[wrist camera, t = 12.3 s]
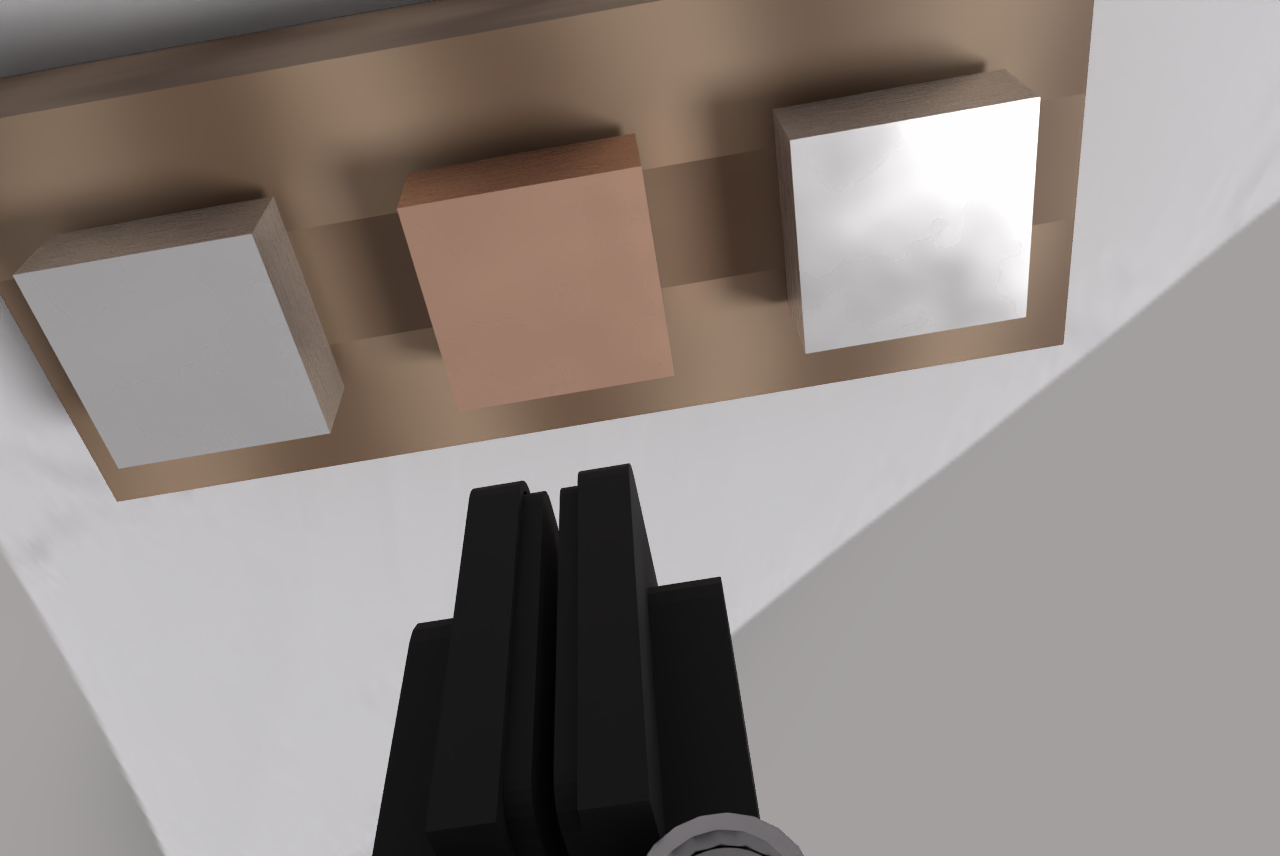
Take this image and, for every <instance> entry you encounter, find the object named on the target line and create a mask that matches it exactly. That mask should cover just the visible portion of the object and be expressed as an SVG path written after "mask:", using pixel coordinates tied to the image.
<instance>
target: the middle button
mask: <svg viewBox="0 0 1280 856" xmlns="http://www.w3.org/2000/svg"><path fill="white" fill-rule="evenodd" d="M397 211H398V214H399V217H400V221H401V224H402V227H403V231H404V234H405V237H406V240H407V244H408V247H409V250H410V254H411V257H412V260H413V263H414V267H415V270H416V273H417V277H418V280H419V283H420V286H421V290H422V293H423V296H424V300H425V303H426V306H427V309H428V313H429V316H430V319H431V323H432V326H433V329H434V332H435V336H436V339H437V342H438V346H439V349H440V352H441V355H442V359H443V362H444V365H445V369H446V372H447V375H448V378H449V382H450V385H451V388H452V392H453V395H454V398H455V401H456V405H457V408H458V411H459V412H461V411H467V410H473V409H479V408H485V407H491V406H497V405H503V404H509V403H515V402H521V401H527V400H533V399H539V398H545V397H551V396H557V395H563V394H569V393H575V392H581V391H587V390H593V389H599V388H605V387H611V386H617V385H623V384H629V383H634V382H640V381H646V380H652V379H658V378H664V377H670V376H675V375H674V368H673V362H672V356H671V349H670V343H669V337H668V330H667V324H666V318H665V312H664V305H663V299H662V293H661V286H660V280H659V274H658V267H657V261H656V255H655V248H654V242H653V236H652V230H651V223H650V217H649V211H648V204H647V198H646V192H645V185H644V179H643V173H642V166H641V161H640V156H639V151H638V146H637V141H636V136H635V133H633V134H627V135H621V136H616V137H610V138H604V139H599V140H593V141H587V142H581V143H576V144H570V145H564V146H558V147H553V148H547V149H541V150H536V151H530V152H524V153H518V154H513V155H507V156H501V157H495V158H490V159H484V160H478V161H472V162H467V163H461V164H455V165H450V166H444V167H438V168H432V169H427V170H421V171H415V172H409V173H408V175H407V178H406V181H405V184H404V187H403V191H402V194H401V197H400V200H399V203H398V206H397Z"/></svg>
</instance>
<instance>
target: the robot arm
mask: <svg viewBox="0 0 1280 856" xmlns="http://www.w3.org/2000/svg"><path fill="white" fill-rule="evenodd" d="M372 856H804V855H803V853H802V852H801V850H800V848H799V846H798V845H796V844H795V843H794V842H793V841H792V840H791V839H790V838H789V837H788V836H787V835H785V833H783V832H782V831H781V830H780V829H779V828H777V827H775V826H773V825H771V824H769V823H767V822H765V821H762V820H760V815H759V809H758V803H757V796H756V790H755V784H754V777H753V771H752V765H751V758H750V752H749V746H748V740H747V733H746V727H745V721H744V714H743V709H742V702H741V696H740V690H739V683H738V677H737V671H736V665H735V659H734V652H733V646H732V640H731V634H730V628H729V622H728V616H727V610H726V605H725V599H724V593H723V587H722V581H721V577H715V578H708V579H702V580H696V581H689V582H683V583H676V584H670V585H663V586H658V584H657V580H656V575H655V570H654V566H653V561H652V557H651V552H650V548H649V543H648V539H647V534H646V529H645V525H644V520H643V516H642V511H641V507H640V502H639V497H638V493H637V488H636V484H635V479H634V475H633V471H632V468H631V465H630V463H629V464H623V465H617V466H610V467H604V468H598V469H592V470H586V471H580V472H579V473H578V486H573V487H567V488H561V490H560V512H559V530H558V526H557V523H556V519H555V516H554V512H553V508H552V505H551V501H550V498H549V496H548V494H547V492H546V491H542V492H536V493H530V491H529V488H528V486H527V484H526V482H524V481H518V482H512V483H506V484H500V485H493V486H487V487H481V488H475V489H473V490H472V491H471V493H470V497H469V504H468V511H467V519H466V527H465V534H464V542H463V549H462V557H461V564H460V572H459V579H458V587H457V594H456V602H455V609H454V617H453V618H451V619H444V620H438V621H431V622H425V623H418V624H417V625H416V627H415V628H414V629H413V632H412V635H411V639H410V643H409V648H408V654H407V660H406V665H405V671H404V677H403V682H402V688H401V694H400V699H399V705H398V711H397V717H396V722H395V728H394V734H393V739H392V745H391V751H390V757H389V762H388V768H387V774H386V779H385V785H384V791H383V797H382V802H381V808H380V814H379V819H378V825H377V831H376V837H375V842H374V848H373V854H372Z"/></svg>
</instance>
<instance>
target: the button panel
mask: <svg viewBox="0 0 1280 856" xmlns="http://www.w3.org/2000/svg"><path fill="white" fill-rule="evenodd" d="M1093 6H1094V0H434V1H428V2H423V3H417V4H412V5H406V6H400V7H395V8H389V9H384V10H378V11H373V12H367V13H361V14H356V15H350V16H345V17H339V18H334V19H328V20H322V21H317V22H311V23H306V24H300V25H295V26H289V27H283V28H278V29H272V30H267V31H261V32H255V33H250V34H244V35H239V36H233V37H228V38H222V39H216V40H211V41H205V42H200V43H194V44H189V45H183V46H177V47H172V48H166V49H161V50H155V51H150V52H144V53H138V54H133V55H127V56H122V57H116V58H110V59H105V60H99V61H94V62H88V63H83V64H77V65H71V66H66V67H60V68H55V69H49V70H44V71H38V72H32V73H27V74H21V75H16V76H10V77H5V78H0V294H1V296H2V298H3V299H4V301H5V303H6V305H7V306H8V308H9V310H10V312H11V314H12V315H13V317H14V319H15V321H16V323H17V324H18V326H19V328H20V330H21V331H22V333H23V335H24V337H25V339H26V340H27V342H28V344H29V346H30V347H31V349H32V351H33V353H34V355H35V356H36V358H37V360H38V362H39V363H40V365H41V367H42V369H43V371H44V372H45V374H46V376H47V378H48V379H49V381H50V383H51V385H52V387H53V388H54V390H55V392H56V394H57V395H58V397H59V399H60V401H61V403H62V404H63V406H64V408H65V410H66V412H67V413H68V415H69V417H70V419H71V420H72V422H73V424H74V426H75V428H76V429H77V431H78V433H79V435H80V436H81V438H82V440H83V442H84V444H85V445H86V447H87V449H88V451H89V452H90V454H91V456H92V458H93V460H94V461H95V463H96V465H97V467H98V468H99V470H100V472H101V474H102V476H103V477H104V479H105V481H106V483H107V484H108V486H109V488H110V490H111V492H112V493H113V495H114V497H115V499H116V501H117V502H118V501H124V500H130V499H136V498H142V497H148V496H154V495H160V494H166V493H172V492H178V491H184V490H190V489H196V488H202V487H208V486H214V485H220V484H226V483H232V482H238V481H245V480H251V479H257V478H263V477H269V476H275V475H281V474H287V473H293V472H299V471H305V470H311V469H317V468H323V467H329V466H335V465H341V464H347V463H353V462H359V461H365V460H371V459H377V458H383V457H389V456H395V455H401V454H407V453H413V452H419V451H425V450H431V449H437V448H443V447H449V446H455V445H461V444H467V443H473V442H479V441H485V440H491V439H497V438H503V437H509V436H515V435H521V434H527V433H533V432H539V431H545V430H551V429H557V428H563V427H569V426H575V425H581V424H587V423H593V422H599V421H605V420H611V419H617V418H623V417H629V416H635V415H641V414H647V413H653V412H659V411H665V410H671V409H677V408H683V407H689V406H696V405H702V404H708V403H714V402H720V401H726V400H732V399H738V398H744V397H750V396H756V395H762V394H768V393H774V392H780V391H786V390H792V389H798V388H804V387H810V386H816V385H822V384H828V383H834V382H840V381H846V380H852V379H858V378H864V377H870V376H876V375H882V374H888V373H894V372H900V371H906V370H912V369H918V368H924V367H930V366H936V365H942V364H948V363H954V362H960V361H966V360H972V359H978V358H984V357H990V356H996V355H1002V354H1008V353H1014V352H1020V351H1026V350H1032V349H1038V348H1044V347H1050V346H1056V345H1062V344H1063V342H1064V331H1065V320H1066V309H1067V298H1068V286H1069V275H1070V264H1071V253H1072V241H1073V230H1074V219H1075V208H1076V197H1077V185H1078V174H1079V163H1080V152H1081V141H1082V129H1083V118H1084V107H1085V96H1086V85H1087V73H1088V62H1089V51H1090V40H1091V29H1092V17H1093ZM1000 69H1005V70H1007V71H1008V72H1009V73H1010V74H1012V75H1013V76H1014V77H1016V78H1017V79H1018V80H1019V81H1021V82H1022V83H1023V84H1024V85H1026V86H1027V87H1028V88H1029V89H1031V90H1032V91H1033V92H1035V93H1036V94H1037V95H1038V96H1040V108H1039V124H1038V139H1037V154H1036V170H1035V185H1034V201H1033V216H1032V232H1031V247H1030V263H1029V278H1028V294H1027V309H1026V317H1023V318H1017V319H1011V320H1005V321H999V322H993V323H987V324H981V325H975V326H969V327H963V328H957V329H951V330H945V331H939V332H933V333H927V334H922V335H916V336H910V337H904V338H898V339H892V340H886V341H880V342H874V343H868V344H862V345H856V346H850V347H844V348H838V349H832V350H826V351H820V352H814V353H808V354H805V351H804V349H803V346H802V344H801V341H800V338H799V336H798V333H797V331H796V328H795V326H794V323H793V321H792V318H791V316H790V313H789V304H788V292H787V279H786V267H785V255H784V243H783V230H782V218H781V206H780V194H779V181H778V169H777V157H776V145H775V132H774V120H773V109H776V108H782V107H788V106H793V105H799V104H805V103H811V102H816V101H822V100H828V99H834V98H839V97H845V96H851V95H857V94H862V93H868V92H874V91H879V90H885V89H891V88H897V87H902V86H908V85H914V84H920V83H925V82H931V81H937V80H943V79H948V78H954V77H960V76H965V75H971V74H977V73H983V72H988V71H994V70H1000ZM633 133H635V136H636V141H637V146H638V151H639V156H640V161H641V166H642V173H643V179H644V185H645V192H646V198H647V204H648V211H649V217H650V223H651V230H652V236H653V242H654V248H655V255H656V261H657V267H658V274H659V280H660V286H661V293H662V299H663V305H664V312H665V318H666V324H667V330H668V337H669V343H670V349H671V356H672V362H673V368H674V375H675V376H670V377H664V378H658V379H652V380H646V381H640V382H634V383H629V384H623V385H617V386H611V387H605V388H599V389H593V390H587V391H581V392H575V393H569V394H563V395H557V396H551V397H545V398H539V399H533V400H527V401H521V402H515V403H509V404H503V405H497V406H491V407H485V408H479V409H473V410H467V411H461V412H459V411H458V408H457V405H456V401H455V398H454V395H453V392H452V388H451V385H450V382H449V378H448V375H447V372H446V369H445V365H444V362H443V359H442V355H441V352H440V349H439V346H438V342H437V339H436V336H435V332H434V329H433V326H432V323H431V319H430V316H429V313H428V309H427V306H426V303H425V300H424V296H423V293H422V290H421V286H420V283H419V280H418V277H417V273H416V270H415V267H414V263H413V260H412V257H411V254H410V250H409V247H408V244H407V240H406V237H405V234H404V231H403V227H402V224H401V221H400V217H399V214H398V211H397V206H398V203H399V200H400V197H401V194H402V191H403V187H404V184H405V181H406V178H407V175H408V173H409V172H415V171H421V170H427V169H432V168H438V167H444V166H450V165H455V164H461V163H467V162H472V161H478V160H484V159H490V158H495V157H501V156H507V155H513V154H518V153H524V152H530V151H536V150H541V149H547V148H553V147H558V146H564V145H570V144H576V143H581V142H587V141H593V140H599V139H604V138H610V137H616V136H621V135H627V134H633ZM272 196H274V199H275V202H276V205H277V207H278V210H279V213H280V215H281V218H282V221H283V223H284V226H285V229H286V231H287V234H288V237H289V239H290V242H291V245H292V247H293V250H294V253H295V255H296V258H297V261H298V263H299V266H300V269H301V272H302V274H303V277H304V280H305V282H306V285H307V288H308V290H309V293H310V296H311V298H312V301H313V304H314V306H315V309H316V312H317V314H318V317H319V320H320V322H321V325H322V328H323V330H324V333H325V336H326V339H327V341H328V344H329V347H330V349H331V352H332V355H333V357H334V360H335V363H336V365H337V368H338V371H339V373H340V376H341V379H342V381H343V384H344V387H345V388H344V391H343V394H342V397H341V401H340V404H339V407H338V410H337V414H336V417H335V420H334V423H333V426H332V430H331V433H330V434H324V435H318V436H312V437H306V438H300V439H294V440H288V441H282V442H276V443H270V444H264V445H258V446H252V447H246V448H240V449H234V450H228V451H222V452H216V453H210V454H204V455H198V456H192V457H186V458H180V459H174V460H168V461H162V462H156V463H150V464H144V465H138V466H132V467H126V468H120V469H118V467H117V465H116V463H115V461H114V459H113V458H112V456H111V454H110V452H109V450H108V449H107V447H106V445H105V443H104V441H103V439H102V438H101V436H100V434H99V432H98V430H97V428H96V427H95V425H94V423H93V421H92V419H91V418H90V416H89V414H88V412H87V410H86V408H85V407H84V405H83V403H82V401H81V399H80V397H79V396H78V394H77V392H76V390H75V388H74V387H73V385H72V383H71V381H70V379H69V377H68V376H67V374H66V372H65V370H64V368H63V366H62V365H61V363H60V361H59V359H58V357H57V356H56V354H55V352H54V350H53V348H52V346H51V345H50V343H49V341H48V339H47V337H46V335H45V334H44V332H43V330H42V328H41V326H40V325H39V323H38V321H37V319H36V317H35V315H34V314H33V312H32V310H31V308H30V306H29V304H28V303H27V301H26V299H25V297H24V295H23V293H22V292H21V290H20V288H19V286H18V284H17V283H16V281H15V279H14V277H13V274H14V273H15V272H16V271H17V270H18V269H19V268H20V267H21V266H22V265H23V264H24V263H25V262H26V261H27V260H28V259H29V258H30V256H31V255H32V254H33V253H34V252H35V251H36V250H37V249H38V248H39V247H40V246H41V245H42V244H43V243H44V242H45V241H46V240H47V239H48V238H49V237H50V236H51V235H54V234H60V233H65V232H71V231H77V230H83V229H88V228H94V227H100V226H106V225H111V224H117V223H123V222H129V221H134V220H140V219H146V218H151V217H157V216H163V215H169V214H174V213H180V212H186V211H192V210H197V209H203V208H209V207H214V206H220V205H226V204H232V203H237V202H243V201H249V200H255V199H260V198H266V197H272Z"/></svg>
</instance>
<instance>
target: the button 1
mask: <svg viewBox="0 0 1280 856" xmlns="http://www.w3.org/2000/svg"><path fill="white" fill-rule="evenodd" d="M13 277H14V279H15V281H16V283H17V284H18V286H19V288H20V290H21V292H22V293H23V295H24V297H25V299H26V301H27V303H28V304H29V306H30V308H31V310H32V312H33V314H34V315H35V317H36V319H37V321H38V323H39V325H40V326H41V328H42V330H43V332H44V334H45V335H46V337H47V339H48V341H49V343H50V345H51V346H52V348H53V350H54V352H55V354H56V356H57V357H58V359H59V361H60V363H61V365H62V366H63V368H64V370H65V372H66V374H67V376H68V377H69V379H70V381H71V383H72V385H73V387H74V388H75V390H76V392H77V394H78V396H79V397H80V399H81V401H82V403H83V405H84V407H85V408H86V410H87V412H88V414H89V416H90V418H91V419H92V421H93V423H94V425H95V427H96V428H97V430H98V432H99V434H100V436H101V438H102V439H103V441H104V443H105V445H106V447H107V449H108V450H109V452H110V454H111V456H112V458H113V459H114V461H115V463H116V465H117V467H118V469H120V468H126V467H132V466H138V465H144V464H150V463H156V462H162V461H168V460H174V459H180V458H186V457H192V456H198V455H204V454H210V453H216V452H222V451H228V450H234V449H240V448H246V447H252V446H258V445H264V444H270V443H276V442H282V441H288V440H294V439H300V438H306V437H312V436H318V435H324V434H330V433H331V430H332V426H333V423H334V420H335V417H336V414H337V410H338V407H339V404H340V401H341V397H342V394H343V391H344V388H345V387H344V384H343V381H342V379H341V376H340V373H339V371H338V368H337V365H336V363H335V360H334V357H333V355H332V352H331V349H330V347H329V344H328V341H327V339H326V336H325V333H324V330H323V328H322V325H321V322H320V320H319V317H318V314H317V312H316V309H315V306H314V304H313V301H312V298H311V296H310V293H309V290H308V288H307V285H306V282H305V280H304V277H303V274H302V272H301V269H300V266H299V263H298V261H297V258H296V255H295V253H294V250H293V247H292V245H291V242H290V239H289V237H288V234H287V231H286V229H285V226H284V223H283V221H282V218H281V215H280V213H279V210H278V207H277V205H276V202H275V199H274V196H272V197H266V198H260V199H255V200H249V201H243V202H237V203H232V204H226V205H220V206H214V207H209V208H203V209H197V210H192V211H186V212H180V213H174V214H169V215H163V216H157V217H151V218H146V219H140V220H134V221H129V222H123V223H117V224H111V225H106V226H100V227H94V228H88V229H83V230H77V231H71V232H65V233H60V234H54V235H51V236H50V237H49V238H48V239H47V240H46V241H45V242H44V243H43V244H42V245H41V246H40V247H39V248H38V249H37V250H36V251H35V252H34V253H33V254H32V255H31V256H30V258H29V259H28V260H27V261H26V262H25V263H24V264H23V265H22V266H21V267H20V268H19V269H18V270H17V271H16V272H15V273H14V274H13Z"/></svg>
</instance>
